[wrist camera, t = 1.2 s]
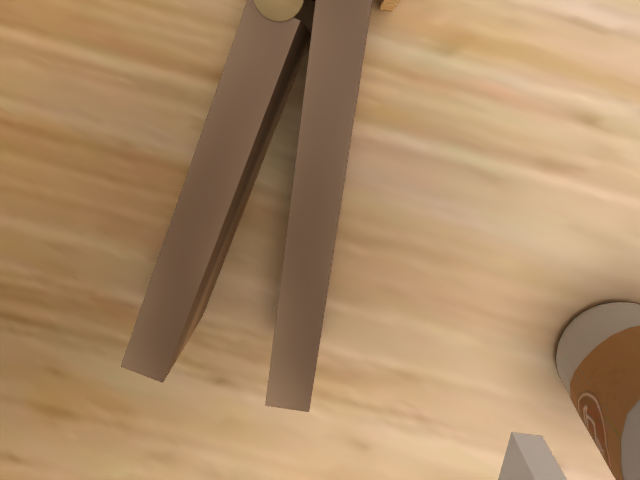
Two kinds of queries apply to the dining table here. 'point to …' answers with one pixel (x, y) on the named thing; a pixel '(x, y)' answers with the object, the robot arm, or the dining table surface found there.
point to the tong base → (315, 189)
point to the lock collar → (388, 4)
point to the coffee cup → (606, 380)
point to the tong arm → (216, 187)
